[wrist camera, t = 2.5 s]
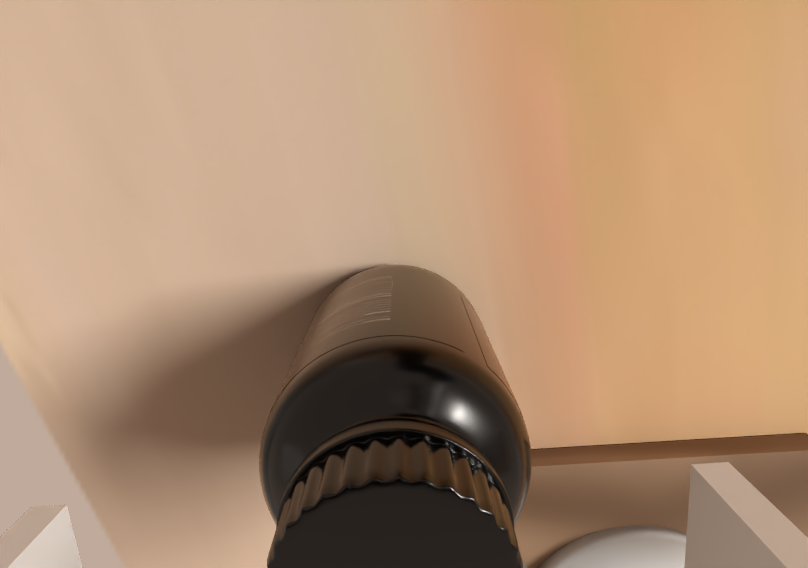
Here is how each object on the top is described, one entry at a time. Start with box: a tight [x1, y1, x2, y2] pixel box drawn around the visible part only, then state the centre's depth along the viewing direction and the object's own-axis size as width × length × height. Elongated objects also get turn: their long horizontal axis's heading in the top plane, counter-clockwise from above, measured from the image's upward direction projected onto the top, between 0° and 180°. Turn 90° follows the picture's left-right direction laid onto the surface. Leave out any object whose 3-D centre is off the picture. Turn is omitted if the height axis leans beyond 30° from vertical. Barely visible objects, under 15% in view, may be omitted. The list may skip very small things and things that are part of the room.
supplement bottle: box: [259, 265, 532, 568], centre depth 15 cm, size 7×7×12 cm
